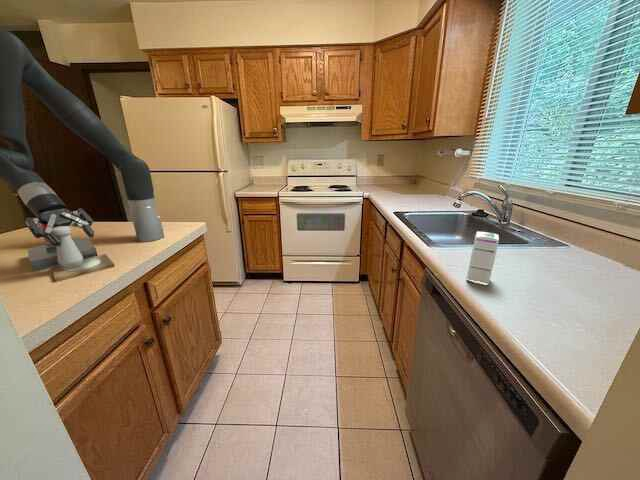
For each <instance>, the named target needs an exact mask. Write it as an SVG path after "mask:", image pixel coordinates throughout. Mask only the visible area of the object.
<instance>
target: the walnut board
mask: <svg viewBox="0 0 640 480" xmlns="http://www.w3.org/2000/svg"><path fill="white" fill-rule="evenodd" d="M110 268H115V263H114V262H113V261H112V260H111V258H109V256H108V255H107V254H106V253H105V254H100V255H99V254H98V256H95V257H90V258H86V259H83V261H82V265H81V266H79V267H77V268H72V269H64V268H63V267H62V266H61V265H56V266H51V268H50V269H51V271H52V274H53V277H54V280H55V282H56V283H58V282H60V281H65V280H68V279H72V278H76V277H81V276H84V275H87V274H91V273H96V272H99V271H103V270H106V269H110Z"/></svg>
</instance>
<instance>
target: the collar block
mask: <svg viewBox="0 0 640 480" xmlns="http://www.w3.org/2000/svg"><path fill="white" fill-rule="evenodd" d="M72 240H73V242H74V243H75V245H76V246H77V248H78V250H79V251H80V253H81V254H82V256H83V259H86V258H90V257H95V256H99V254H98V251H97V249H96V247H95V245H94V244H93V242H91V240H90V239H89V237H88V236H86V237H82V238H78V239H77V238H75V239H72ZM27 254H28V261H29V263H30V266H31V269H32V270H33V271H32V272H33V273H34V272H35V273H36V272H39V271H42V270H43V271H44V270H46V269H52V268H51V266H56V265H60V264H59V263H58V259H57V247H56V245H52V244H49V245H46V244H45V245H44V244H43V245H38V246H35V247H29V248H27Z"/></svg>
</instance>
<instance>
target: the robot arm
mask: <svg viewBox="0 0 640 480" xmlns="http://www.w3.org/2000/svg"><path fill="white" fill-rule="evenodd" d="M22 84H23V85H24V86H26V88H28V89H29V90H30V91H32V92H33V93H34V94H35V95H36V96H37V97H38V98H39V99H40V100H41V102H43V104H44V105H45V106H46V107H47V108H48V110H50V111H51V112H52V113H53V114H54V116H56V117H57V119H59V120H60V121H61V122H62V123H63V124H64V125H65V126H66V127H68V128H69V129H70V131H72V132H73V133H74V134H75V135H77V136H78V137H80V138H81V139H82V140H83V141H85V142H86V143H87V144H89V145H90V146H91V147H93V148H94V149H96V150H97V151H98V152H100V153H101V154H102V155H104V156H105V158H107V159H108V161H110V162H111V163H112V165H114V167H115V168H116V169H117V170H118V171H119V172H120V174H121V177H122V178H121V180H122V182H123V186H124V190H125V195H126V199H127V204H128V208H129V211H130V215H131V219H132V224H133V227H134V232H135V236H136V240H137V241H138V242H142V243H147V242H154V241H157V240H160V239H163V238H165V234H164V227H163V222H162V219H161V216H160V215H159V212H158V208H157V203H156V198H155V193H154V192H155V191H154V185H153V180H152V175H151V170H150V167H149V165H148V163H146V161H144V160H143V159H141V158H140V157H138V156H136V155H135V154H134V153H132V152H131V151H130V150H129V149H128V148H127V147H125V146H124V145H123V144H122V143H121V141H119V140H118V138H117V136H115V135H114V134H113V132H112V131H111V130H110V128H108V126H107V125H106V124H105V123H104V122H103V121H102V119H100V117H98V116H97V114H96V113H95V112H93V110H92V109H91V108H89V106H87V105H86V103H84V102H83V101H82V100H81V99H79V98H78V97H77V96H76V95H74V94H73V92H71V91H70V90H68V89H66V87H64V86H63V85H61V83H59V82H58V81H57V80H56V79H55V78H54V77H52V76H51V74H49V73H48V71H47V70H46V68H44V67H43V66H42V65H41V63H39V61H38V60H36V58H35V57H34V56H33V55H32V53H31V52H30V51H29V49H28V48H27V46H26V45H25V44H24V42H23V41H22V40H21V39H20V38H19V37H18V36H16V35H15V34H14V33H13V32H10V31H9V30H7V29H4V28H1V27H0V141H4V142H6V143H7V144H8V145H9V147H10V149H9V148H4V147H0V179H1V180H2V181H4V182H5V183H7V184H8V185H10V186H11V188H13V190H14V191H15V192H16V193H17V194H18V195H19V197H20V199H21V201H22V202H23V204H24V205H25V206H27V208H28V209H29V210H30V212H32V214H33V215H34V216H35V217H34V218H33V217H31V216H29V217H26V218H25V225H26V227H27V228H28V230H29V231H30V232H31V234H32V235H33V237H34V238H36V239H40V238H43V237H45V238H47V239H48V240H49V242H50V243H51V244H52V245H56V246H57V247H58V246H60V245H61V241H60V240H59V239H58V238H57V237H56V236H55V234H54V233H51V231H52V229H53V228H55V227H59V226H68V227H70V226H71V227H75V228H79V229H82V231H83V232H84V233H85V235H86V236H87V238H88V239H89V238H91V239H92V238H93V237H94V235H95V230H93V229H92V227H91V226H92V225H93V223H94V219H93V218H92V217H91V216H90V215H89V214H88V213H87V212H86V211H85V210H84V209H83V208H78V209H77V210H74V211H72V210H70V209H69V208H68V207H67V205H66V204H65V202H63V200H62V198H60V197H59V196H58V194H56V192H55V191H54V190H53V189H52V188H51V187H50V186H49V185H48V184H47V183H46V182H45V181H44V179H43V178H42V177H41V176H40V175H39V174H38V173H36V172H35V171H32V170H33V169H34V166H35V163H34V159H33V155H32V152H31V150H30V147H29V143H28V142H27V138H26V112H25V105H24V99H23V93H22V92H23V91H22V90H23V89H22ZM38 222H39V223H41V224H44V225H47V228H46V231H41V230H40V228H39V226H38Z"/></svg>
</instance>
